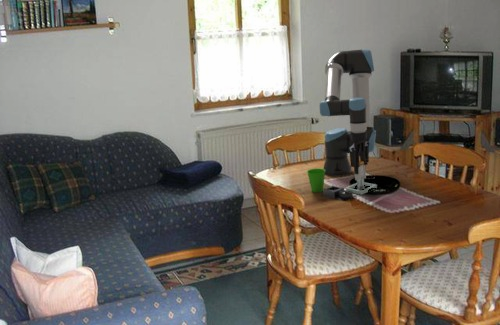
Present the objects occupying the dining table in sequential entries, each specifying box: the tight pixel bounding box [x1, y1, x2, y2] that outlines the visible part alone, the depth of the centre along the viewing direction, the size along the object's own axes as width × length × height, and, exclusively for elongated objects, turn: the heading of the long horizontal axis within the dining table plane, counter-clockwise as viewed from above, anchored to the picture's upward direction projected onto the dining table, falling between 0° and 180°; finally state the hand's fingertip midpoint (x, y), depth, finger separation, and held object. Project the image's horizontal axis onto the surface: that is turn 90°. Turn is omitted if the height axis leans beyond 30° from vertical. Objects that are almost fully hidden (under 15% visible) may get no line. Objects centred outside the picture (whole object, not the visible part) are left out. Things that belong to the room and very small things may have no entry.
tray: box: [344, 181, 378, 196], centre depth 285 cm, size 12×10×2 cm
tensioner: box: [320, 184, 357, 202], centre depth 279 cm, size 9×15×5 cm, turn 42°
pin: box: [356, 159, 365, 191], centre depth 283 cm, size 4×4×14 cm
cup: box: [306, 167, 325, 193], centre depth 288 cm, size 9×9×11 cm
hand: (360, 179), depth 284 cm, fingers closed on pin, 3 cm apart
